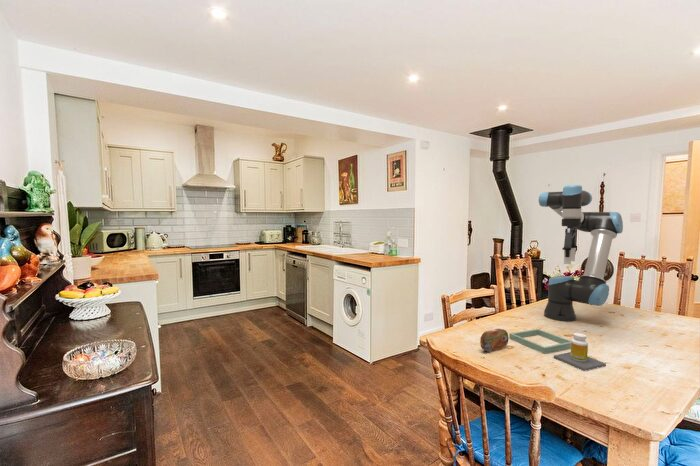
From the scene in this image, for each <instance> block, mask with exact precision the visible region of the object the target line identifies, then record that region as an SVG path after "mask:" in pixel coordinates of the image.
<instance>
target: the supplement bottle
mask: <svg viewBox="0 0 700 466" xmlns="http://www.w3.org/2000/svg"><path fill="white" fill-rule="evenodd" d="M572 337H573V338H572V339H571V340H570V341H571V349H570V352H571V358H572V359H573V360H576V361H580V362H586V361H587V356H588V355H589V354H588V353H589V352H588V350H589V349H588V348H589V342H588V341H587V335H585V334H584V333H580V332H574V333H573V336H572Z"/></svg>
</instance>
